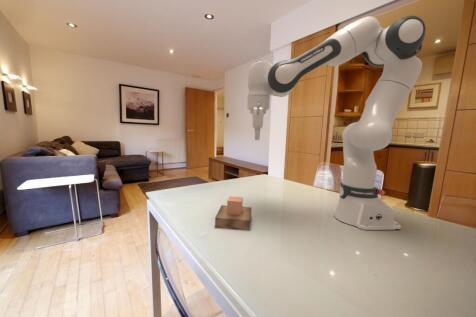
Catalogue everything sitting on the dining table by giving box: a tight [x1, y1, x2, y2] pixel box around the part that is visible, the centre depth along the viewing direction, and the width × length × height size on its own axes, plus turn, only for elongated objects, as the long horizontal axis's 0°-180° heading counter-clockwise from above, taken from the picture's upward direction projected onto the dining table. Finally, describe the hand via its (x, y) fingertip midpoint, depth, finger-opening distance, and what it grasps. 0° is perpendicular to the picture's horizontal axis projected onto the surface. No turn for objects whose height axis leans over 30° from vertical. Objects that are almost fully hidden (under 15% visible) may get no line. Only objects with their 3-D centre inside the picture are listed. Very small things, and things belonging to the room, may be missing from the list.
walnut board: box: [214, 204, 252, 231], centre depth 76 cm, size 12×12×4 cm
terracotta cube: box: [226, 195, 243, 215], centre depth 76 cm, size 5×5×5 cm
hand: (257, 139), depth 84 cm, fingers open, 8 cm apart
